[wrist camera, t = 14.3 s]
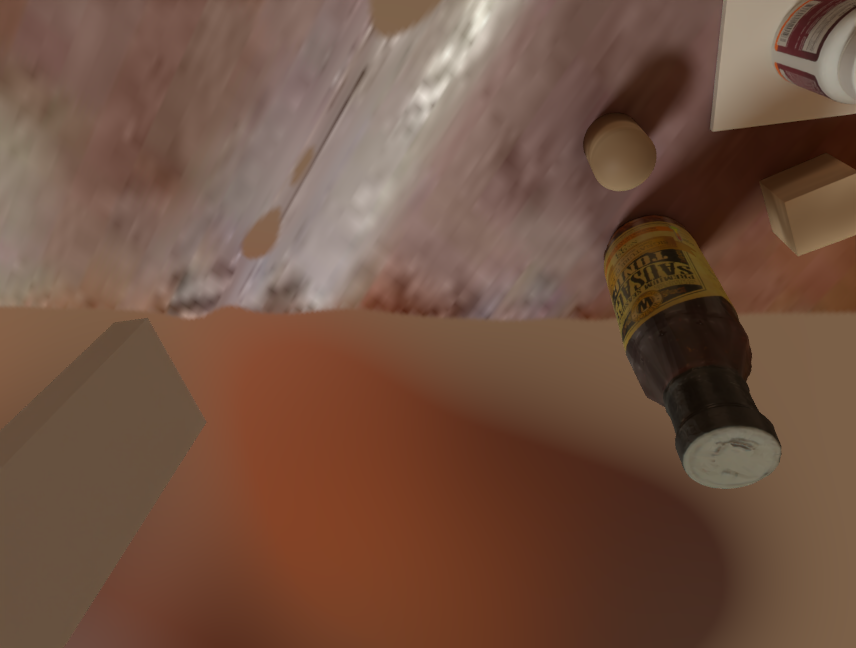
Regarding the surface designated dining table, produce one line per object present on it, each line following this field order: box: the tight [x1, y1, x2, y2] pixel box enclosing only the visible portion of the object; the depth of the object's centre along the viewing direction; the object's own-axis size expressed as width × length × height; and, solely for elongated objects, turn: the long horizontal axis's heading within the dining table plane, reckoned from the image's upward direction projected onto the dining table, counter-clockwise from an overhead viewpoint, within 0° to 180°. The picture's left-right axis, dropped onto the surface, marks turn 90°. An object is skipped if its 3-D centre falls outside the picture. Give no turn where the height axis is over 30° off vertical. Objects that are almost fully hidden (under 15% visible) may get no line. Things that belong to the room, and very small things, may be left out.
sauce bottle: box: [604, 215, 781, 489], centre depth 32 cm, size 6×6×20 cm
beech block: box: [759, 153, 856, 256], centre depth 35 cm, size 4×4×4 cm
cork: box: [583, 113, 656, 191], centre depth 35 cm, size 4×4×4 cm
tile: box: [710, 0, 856, 132], centre depth 32 cm, size 10×10×1 cm
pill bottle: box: [771, 0, 856, 104], centre depth 28 cm, size 5×5×8 cm
